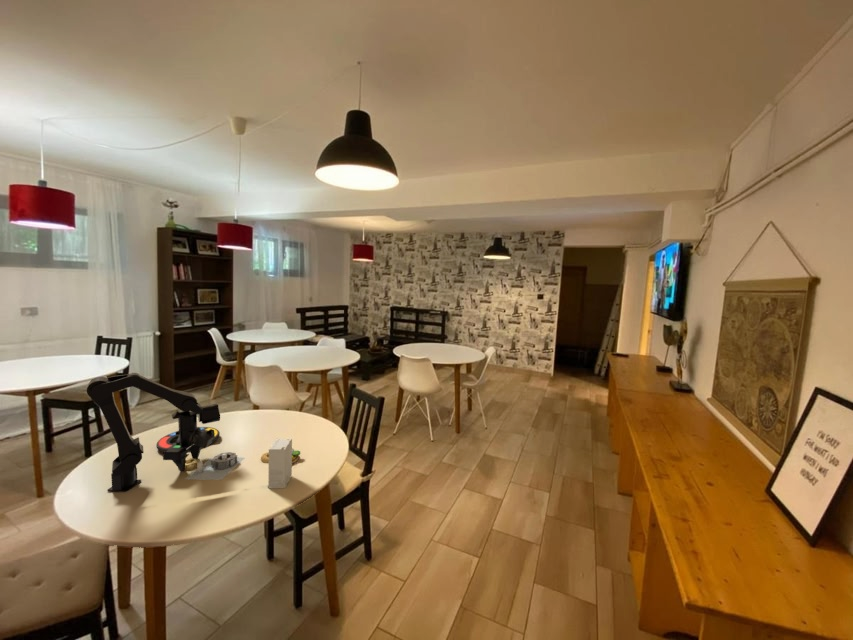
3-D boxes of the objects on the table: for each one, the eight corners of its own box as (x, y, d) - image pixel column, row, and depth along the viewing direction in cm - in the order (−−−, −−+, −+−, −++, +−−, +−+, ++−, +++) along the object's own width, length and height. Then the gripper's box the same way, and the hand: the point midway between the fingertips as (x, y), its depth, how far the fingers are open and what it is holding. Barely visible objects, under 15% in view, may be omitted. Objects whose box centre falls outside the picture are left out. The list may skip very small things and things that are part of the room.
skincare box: (276, 476, 126) (275, 438, 125) (292, 475, 127) (292, 437, 125) (267, 489, 118) (267, 448, 116) (285, 489, 118) (285, 448, 117)
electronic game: (231, 435, 160) (230, 425, 160) (193, 458, 137) (192, 447, 137) (186, 431, 162) (186, 421, 162) (141, 454, 140) (141, 443, 139)
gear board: (221, 483, 121) (221, 469, 120) (185, 482, 120) (184, 468, 120) (244, 460, 137) (244, 448, 136) (212, 459, 136) (212, 447, 136)
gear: (235, 467, 129) (235, 460, 128) (209, 472, 125) (209, 464, 125) (238, 457, 137) (238, 450, 136) (213, 461, 133) (213, 453, 133)
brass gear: (192, 473, 126) (192, 466, 126) (173, 473, 126) (173, 465, 126) (203, 464, 133) (203, 457, 132) (186, 464, 133) (186, 456, 132)
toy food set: (256, 463, 135) (256, 455, 135) (284, 450, 147) (284, 442, 147) (279, 472, 129) (279, 464, 129) (306, 457, 141) (306, 450, 140)
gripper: (192, 438, 119) (194, 480, 120) (223, 418, 137) (224, 454, 139) (160, 437, 118) (162, 479, 120) (195, 417, 137) (197, 454, 138)
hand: (189, 466), depth 129 cm, fingers closed on brass gear, 7 cm apart
